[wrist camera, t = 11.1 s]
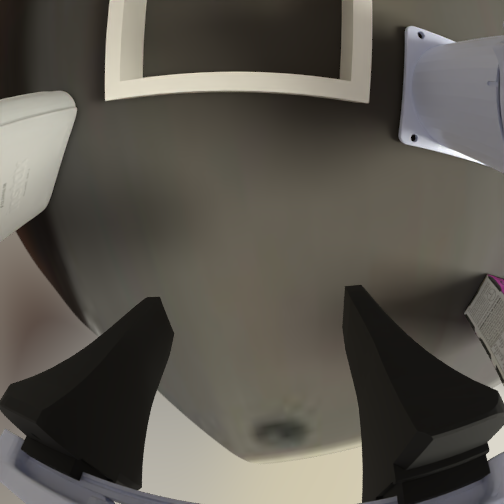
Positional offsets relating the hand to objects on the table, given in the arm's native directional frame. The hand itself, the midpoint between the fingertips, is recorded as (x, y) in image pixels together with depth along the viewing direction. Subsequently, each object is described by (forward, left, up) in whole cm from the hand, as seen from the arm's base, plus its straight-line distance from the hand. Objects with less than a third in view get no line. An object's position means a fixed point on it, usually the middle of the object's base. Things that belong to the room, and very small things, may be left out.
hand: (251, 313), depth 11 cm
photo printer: (+17, -5, -10) cm, 20 cm away
